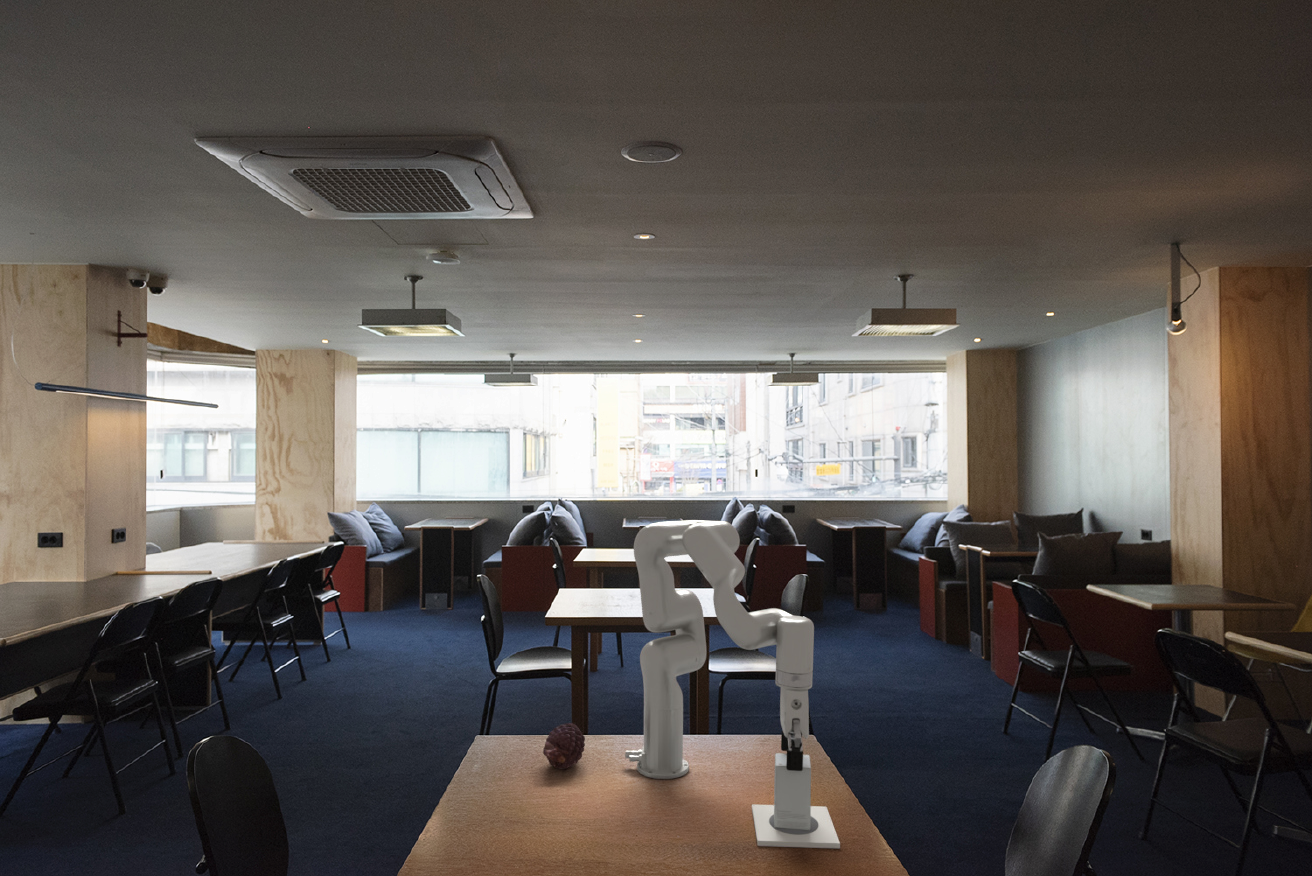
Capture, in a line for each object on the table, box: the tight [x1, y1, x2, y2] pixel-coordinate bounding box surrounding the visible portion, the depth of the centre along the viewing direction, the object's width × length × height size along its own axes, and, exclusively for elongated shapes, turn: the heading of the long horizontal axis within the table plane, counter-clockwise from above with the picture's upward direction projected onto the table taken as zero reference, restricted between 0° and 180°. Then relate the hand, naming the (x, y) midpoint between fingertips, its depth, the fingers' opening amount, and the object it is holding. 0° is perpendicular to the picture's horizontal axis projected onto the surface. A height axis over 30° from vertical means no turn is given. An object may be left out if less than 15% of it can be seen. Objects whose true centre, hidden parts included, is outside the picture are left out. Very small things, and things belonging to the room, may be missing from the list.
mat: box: [751, 803, 841, 849], centre depth 164 cm, size 16×16×1 cm
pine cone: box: [542, 722, 586, 770], centre depth 195 cm, size 18×10×10 cm, turn 171°
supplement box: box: [773, 752, 812, 830], centre depth 164 cm, size 7×7×13 cm
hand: (791, 760), depth 164 cm, fingers open, 9 cm apart
